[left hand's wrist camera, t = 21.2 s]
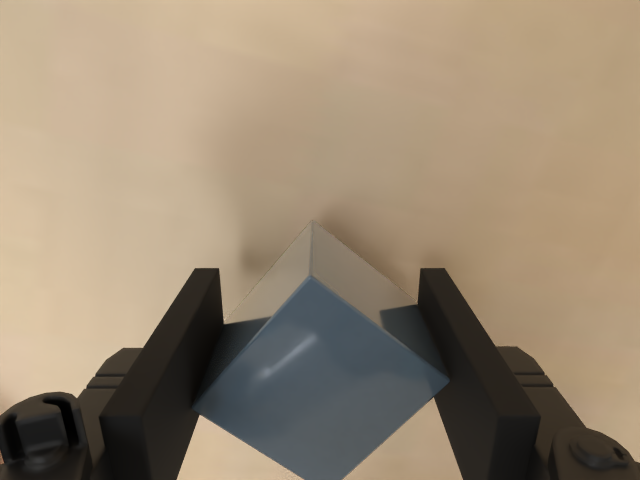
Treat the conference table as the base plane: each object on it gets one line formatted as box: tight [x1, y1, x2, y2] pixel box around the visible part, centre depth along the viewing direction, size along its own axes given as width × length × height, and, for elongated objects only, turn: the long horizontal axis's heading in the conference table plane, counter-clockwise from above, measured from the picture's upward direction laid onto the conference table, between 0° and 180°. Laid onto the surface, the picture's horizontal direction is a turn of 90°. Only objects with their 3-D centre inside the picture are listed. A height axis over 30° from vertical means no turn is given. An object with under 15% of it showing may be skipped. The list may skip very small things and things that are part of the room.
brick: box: [192, 220, 450, 480], centre depth 13 cm, size 4×5×4 cm
